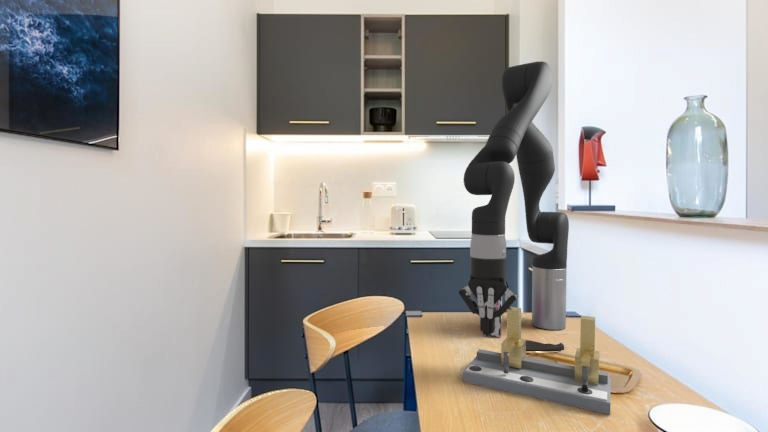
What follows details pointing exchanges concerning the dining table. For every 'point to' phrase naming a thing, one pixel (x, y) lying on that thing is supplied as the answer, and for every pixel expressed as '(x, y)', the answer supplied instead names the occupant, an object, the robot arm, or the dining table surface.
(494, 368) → the board
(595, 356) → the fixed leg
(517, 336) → the slider
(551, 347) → the dark sector wedge
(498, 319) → the candy bar box
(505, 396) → the dining table surface
